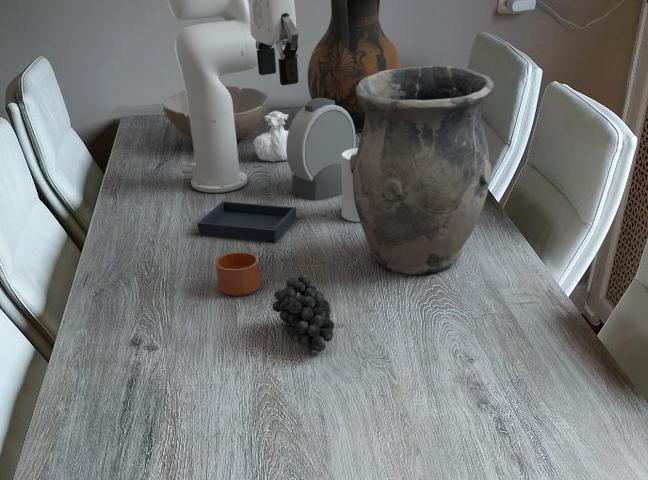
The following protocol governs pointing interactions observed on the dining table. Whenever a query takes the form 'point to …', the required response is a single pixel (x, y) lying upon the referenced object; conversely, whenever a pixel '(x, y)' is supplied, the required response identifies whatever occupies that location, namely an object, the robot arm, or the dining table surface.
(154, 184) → the dining table surface
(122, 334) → the dining table surface
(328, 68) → the vase
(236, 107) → the bowl
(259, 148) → the bust
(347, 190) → the mug
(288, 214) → the tray
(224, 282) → the small bowl
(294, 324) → the fruit
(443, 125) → the clay pot
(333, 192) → the alarm clock
